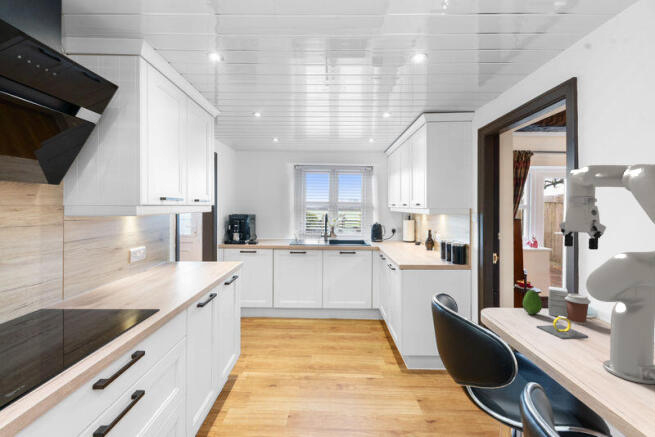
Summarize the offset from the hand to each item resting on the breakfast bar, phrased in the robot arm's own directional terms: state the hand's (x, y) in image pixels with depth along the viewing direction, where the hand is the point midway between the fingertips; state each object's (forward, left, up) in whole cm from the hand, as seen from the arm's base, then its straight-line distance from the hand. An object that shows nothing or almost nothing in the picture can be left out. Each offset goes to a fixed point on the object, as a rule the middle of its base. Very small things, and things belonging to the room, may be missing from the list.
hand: (580, 247), depth 116 cm
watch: (+11, -4, -36) cm, 38 cm away
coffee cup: (+21, -22, -36) cm, 48 cm away
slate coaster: (+11, -4, -36) cm, 38 cm away
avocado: (+33, -10, -36) cm, 50 cm away
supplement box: (+31, -22, -37) cm, 53 cm away
